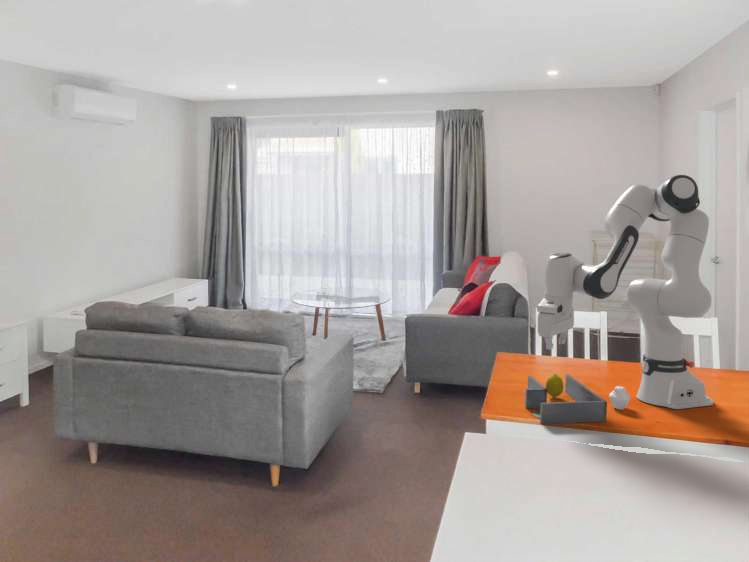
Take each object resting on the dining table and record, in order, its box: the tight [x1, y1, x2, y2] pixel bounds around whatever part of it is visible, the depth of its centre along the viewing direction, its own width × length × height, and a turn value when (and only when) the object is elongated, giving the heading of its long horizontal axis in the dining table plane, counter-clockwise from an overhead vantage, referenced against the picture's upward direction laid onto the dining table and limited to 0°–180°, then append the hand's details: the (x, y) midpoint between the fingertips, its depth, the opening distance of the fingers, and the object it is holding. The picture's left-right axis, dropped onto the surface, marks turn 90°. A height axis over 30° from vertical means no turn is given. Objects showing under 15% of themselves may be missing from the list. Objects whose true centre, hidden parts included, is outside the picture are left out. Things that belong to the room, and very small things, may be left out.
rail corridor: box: [524, 374, 608, 425], centre depth 190 cm, size 20×28×6 cm
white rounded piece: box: [608, 385, 631, 410], centre depth 189 cm, size 6×6×7 cm
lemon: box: [545, 373, 564, 399], centre depth 198 cm, size 6×6×8 cm
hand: (555, 346), depth 196 cm, fingers open, 8 cm apart
